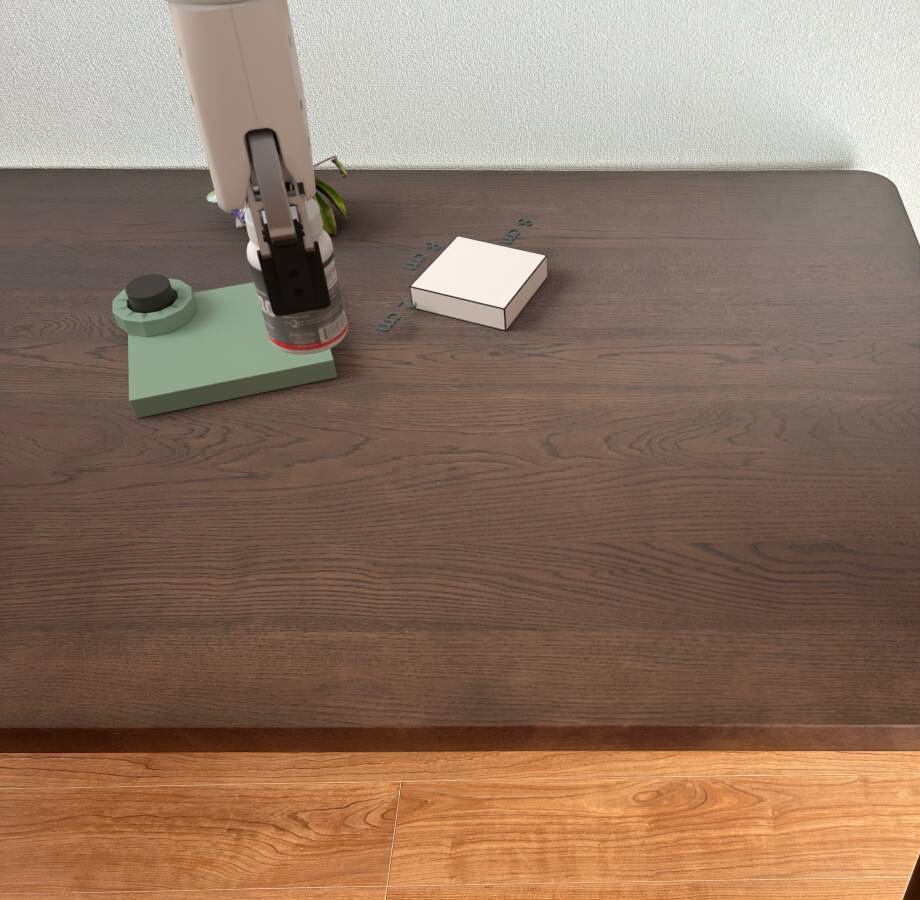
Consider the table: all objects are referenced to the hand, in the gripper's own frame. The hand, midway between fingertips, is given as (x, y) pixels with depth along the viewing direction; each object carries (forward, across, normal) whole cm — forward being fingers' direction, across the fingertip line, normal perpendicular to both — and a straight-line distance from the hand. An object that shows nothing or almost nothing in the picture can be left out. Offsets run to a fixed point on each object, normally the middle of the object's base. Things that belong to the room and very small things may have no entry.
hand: (296, 280), depth 56 cm
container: (+20, -26, +15) cm, 36 cm away
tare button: (+17, -28, -13) cm, 35 cm away
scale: (+20, -23, -7) cm, 32 cm away
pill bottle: (+4, 0, 0) cm, 4 cm away
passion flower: (+20, -44, 0) cm, 48 cm away
